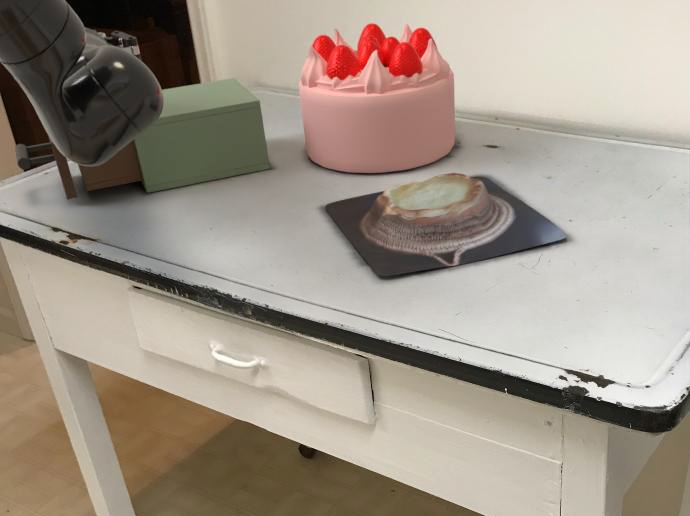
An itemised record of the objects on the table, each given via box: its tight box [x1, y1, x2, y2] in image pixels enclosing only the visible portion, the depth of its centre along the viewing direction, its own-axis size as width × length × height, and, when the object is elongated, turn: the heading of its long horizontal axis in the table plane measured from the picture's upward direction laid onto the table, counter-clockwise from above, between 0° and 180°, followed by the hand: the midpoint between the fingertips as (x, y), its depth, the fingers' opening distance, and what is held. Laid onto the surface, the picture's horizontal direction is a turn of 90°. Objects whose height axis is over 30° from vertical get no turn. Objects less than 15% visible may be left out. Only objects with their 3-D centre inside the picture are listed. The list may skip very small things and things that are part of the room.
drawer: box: [14, 136, 144, 200], centre depth 106 cm, size 19×11×7 cm, turn 113°
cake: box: [298, 22, 456, 174], centre depth 109 cm, size 20×20×14 cm
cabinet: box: [134, 77, 270, 194], centre depth 109 cm, size 16×13×9 cm
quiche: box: [324, 172, 568, 277], centre depth 91 cm, size 21×20×4 cm
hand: (68, 43), depth 101 cm, fingers closed on energy drink, 5 cm apart
